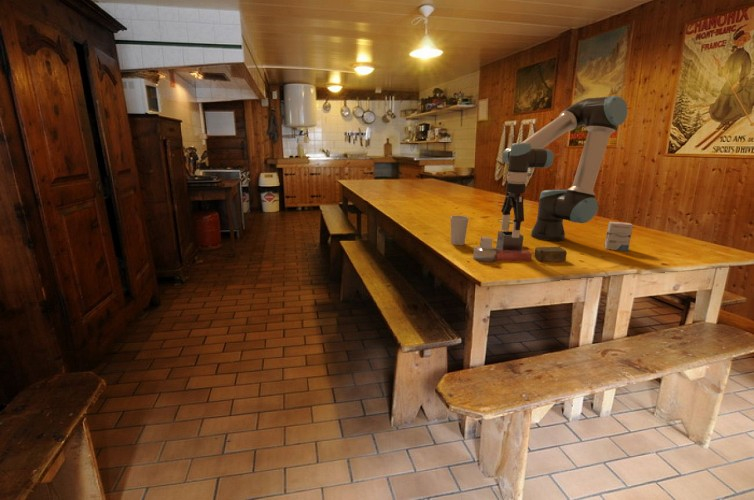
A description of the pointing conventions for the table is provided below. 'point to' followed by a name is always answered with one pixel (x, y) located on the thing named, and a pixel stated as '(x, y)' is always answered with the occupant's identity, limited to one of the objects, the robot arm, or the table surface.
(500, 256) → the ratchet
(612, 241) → the ink box
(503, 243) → the socket
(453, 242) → the cup
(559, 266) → the table surface
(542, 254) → the stone block
